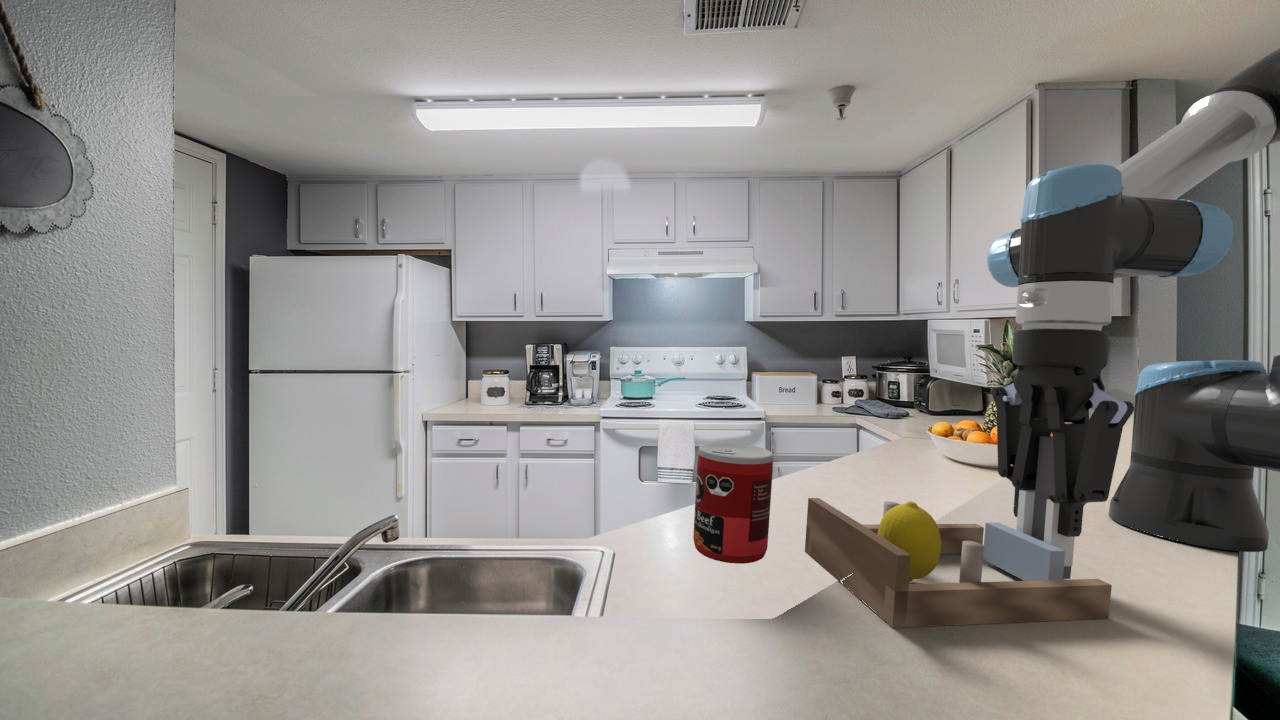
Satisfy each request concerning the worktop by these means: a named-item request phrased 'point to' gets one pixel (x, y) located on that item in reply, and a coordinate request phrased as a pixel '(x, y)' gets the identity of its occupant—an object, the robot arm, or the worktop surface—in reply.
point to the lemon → (913, 536)
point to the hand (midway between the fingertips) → (1042, 557)
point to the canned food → (732, 502)
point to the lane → (938, 604)
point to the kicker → (1031, 552)
